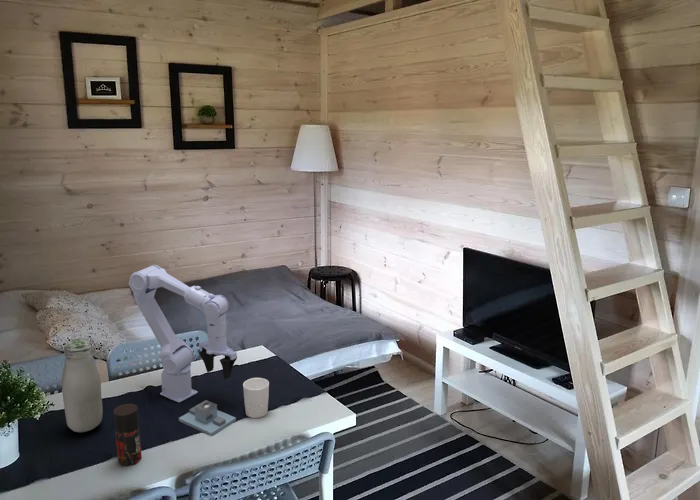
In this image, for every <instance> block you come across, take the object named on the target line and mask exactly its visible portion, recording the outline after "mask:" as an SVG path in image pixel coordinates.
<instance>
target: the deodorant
mask: <svg viewBox="0 0 700 500" xmlns="http://www.w3.org/2000/svg"><path fill="white" fill-rule="evenodd" d="M112 413H113V421H114V432H115V434H114V435H115V443H116V444H115V445H116V453H117V462H118V465H119V466H121V467H131V466H134V465H136V464H138V463H139V462H141V460H142V458H143V457H142V456H143V455H142V446H141V445H142V442H141V433H140V431H141V430H140V423H139V420H140V419H139V409H138V405H136V404H134V403H123V404H121V405H118V406H116V407H115V408H114V409H113V412H112Z"/></svg>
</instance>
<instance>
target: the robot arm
mask: <svg viewBox="0 0 700 500" xmlns="http://www.w3.org/2000/svg"><path fill="white" fill-rule="evenodd" d="M128 286H129V288H130V290H131V292H132V295H133V299H134V302H135V303H136V305H137V307H138V308H139V310H140V312H141V314H142V316H143V317H144V319H145V321H146V322H147V324H148V326H149V327H150V330H151V331H152V333H153V335H154V336H155V339H156V340H157V342H158V344H159V345H160V347H161V349H160V352H159V359H160V360H161V365H162V366H161V367H162V369H163V370H162V372H161V375H160V376H161V377H160V378H161V379H160V380H161V392H160V393H159V394H160V395H161V396H163V397H165V398H168V399H169V400H172V401H173V402H174V401H175V402H177V403H181V402H183V401H185V400H187V399H189V398H191V397H192V396H194V395H197V394H198V391H197V390H196V389H193V388H192V374H191V367H192V362H193V361H194V359H195V353H194V350H193V349H192V348H191V347H190V346H188V345H187V343H186V341H185V340H182V339H179V338H178V337H177V335H176V334H175V332H174V330H173V329H172V326H171V325H170V323H169V321H168V319H167V318H166V316H165V315H164V312H163V311H162V309H161V308H160V305H159V304H158V302H157V300H156V298H155V295H156V292H157V289H158V288H159V289H160V288H163V289H166V290H168V291H171V292H173V293H175V294H177V295H179V296H182V297H183V298H184V301H185V303H187V304H189V305H191V306H194V307H195V308H196V309H199V310H200V311H201V312H202V314H203V315H204V317H205V319H206V324H207V327H206V328H207V330H206V331H207V341H204V340H203V341H200V342H199V343H198V348H199V350H200V351H198V355H199V356H200V358H201V359H202V361H203V363H204V367H205V370H206V372H207V373H210V372H212V371H214V367H215V355H219V356H224V357H222V358H221V359H219V363H220V365H221V367H222V375H223V379H225V380H227V379H229V378H230V377H231V375H232V371H233V368H234V367H233V366H234V365H235V363H236V361H237V359H238V353H237V351H234V350H233V349H232V348H231V347H229V345H228V342H227V337H228V336H227V314H226V312H227V311H228V309H229V307H230V303H229V301H228V299H227V297H225V296H224V295H222V294H216V295H215V294H213V293H210V292H208V291H206V290H205V289H202V286H199V285H192V286H188V285H187V284H186V283H184V282H183V281H180V280H179V279H177V278H176V277H174V276H172V275H171V274H169V273H167V271H166V269H165V268H162V267H161V266H159V265H157V264H152V265H150V266H148V267H145V268H143V269H141V270H138V271H134V272H133V273H132V274H131V275H130V277H129V280H128Z"/></svg>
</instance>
